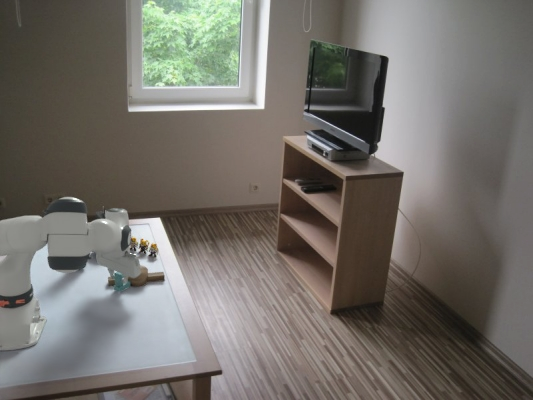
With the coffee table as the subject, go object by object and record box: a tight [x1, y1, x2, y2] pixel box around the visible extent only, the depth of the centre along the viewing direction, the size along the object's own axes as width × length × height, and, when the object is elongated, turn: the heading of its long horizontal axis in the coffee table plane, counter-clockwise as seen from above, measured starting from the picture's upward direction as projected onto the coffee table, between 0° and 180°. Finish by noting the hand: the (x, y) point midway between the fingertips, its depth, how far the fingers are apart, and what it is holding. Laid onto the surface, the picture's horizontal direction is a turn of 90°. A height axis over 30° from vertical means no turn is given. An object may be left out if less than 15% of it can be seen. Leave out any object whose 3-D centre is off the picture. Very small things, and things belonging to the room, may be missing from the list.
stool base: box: [107, 264, 165, 288], centre depth 234 cm, size 16×22×6 cm
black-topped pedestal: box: [95, 206, 107, 220], centre depth 270 cm, size 28×26×13 cm
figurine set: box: [130, 236, 159, 259], centre depth 256 cm, size 3×16×7 cm, turn 63°
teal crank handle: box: [113, 271, 131, 293], centre depth 225 cm, size 6×3×7 cm, turn 148°
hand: (118, 280), depth 223 cm, fingers open, 5 cm apart
